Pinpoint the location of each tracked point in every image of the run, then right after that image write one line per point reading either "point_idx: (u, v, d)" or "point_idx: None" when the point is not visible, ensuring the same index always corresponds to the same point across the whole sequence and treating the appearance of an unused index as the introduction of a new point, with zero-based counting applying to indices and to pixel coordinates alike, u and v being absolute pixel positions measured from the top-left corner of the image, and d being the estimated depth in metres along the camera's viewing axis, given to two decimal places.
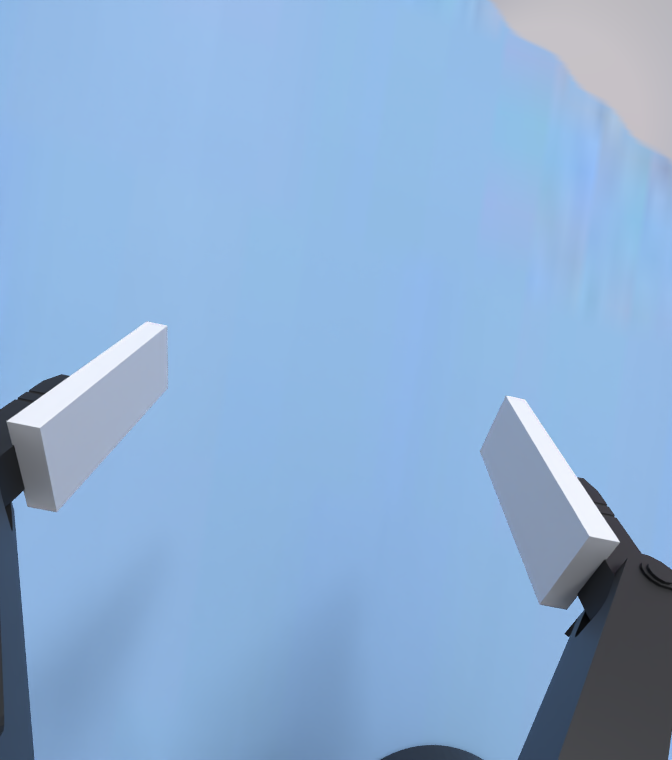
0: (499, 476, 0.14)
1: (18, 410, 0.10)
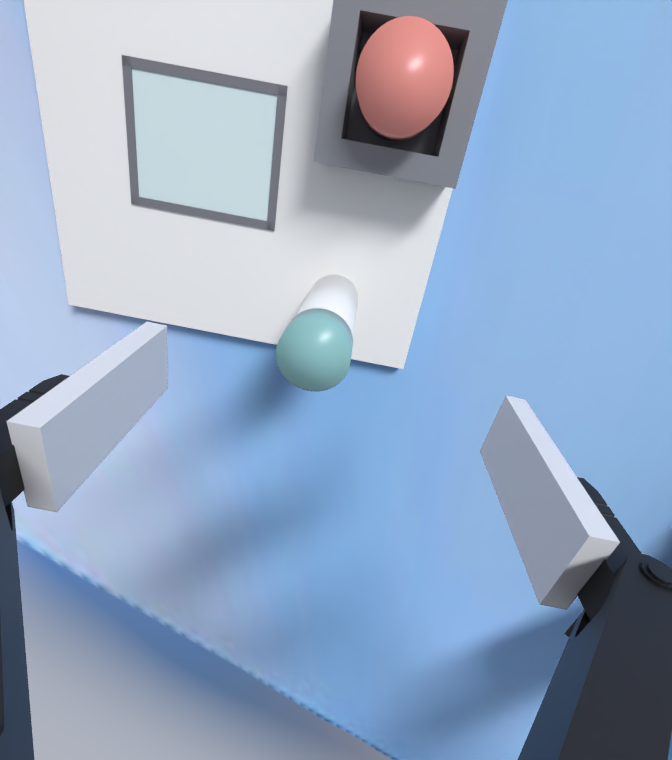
0: (499, 476, 0.14)
1: (18, 410, 0.10)
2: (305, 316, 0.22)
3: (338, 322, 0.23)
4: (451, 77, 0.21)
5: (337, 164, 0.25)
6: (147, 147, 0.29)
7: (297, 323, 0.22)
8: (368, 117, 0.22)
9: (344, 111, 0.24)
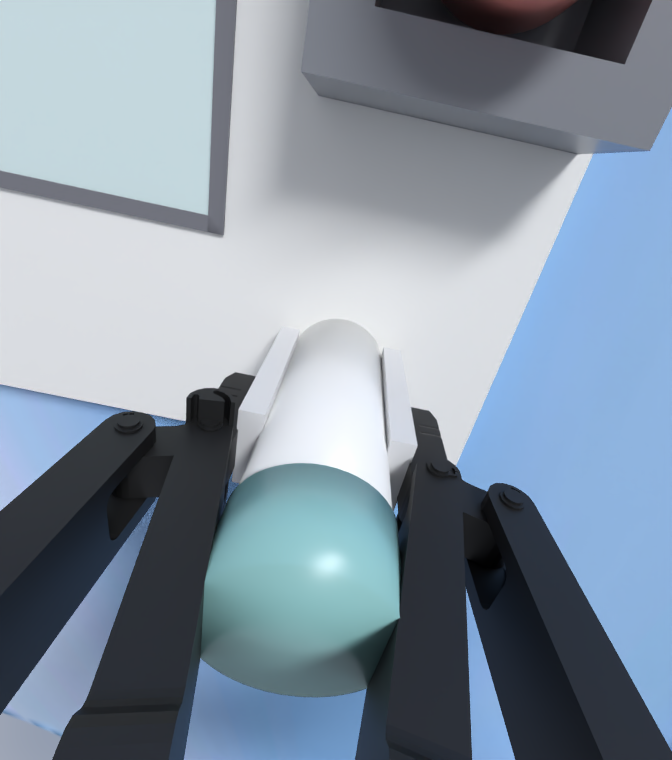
0: None
1: None
2: (271, 513, 0.07)
3: (368, 523, 0.08)
4: None
5: (362, 80, 0.10)
6: None
7: (244, 558, 0.07)
8: None
9: None
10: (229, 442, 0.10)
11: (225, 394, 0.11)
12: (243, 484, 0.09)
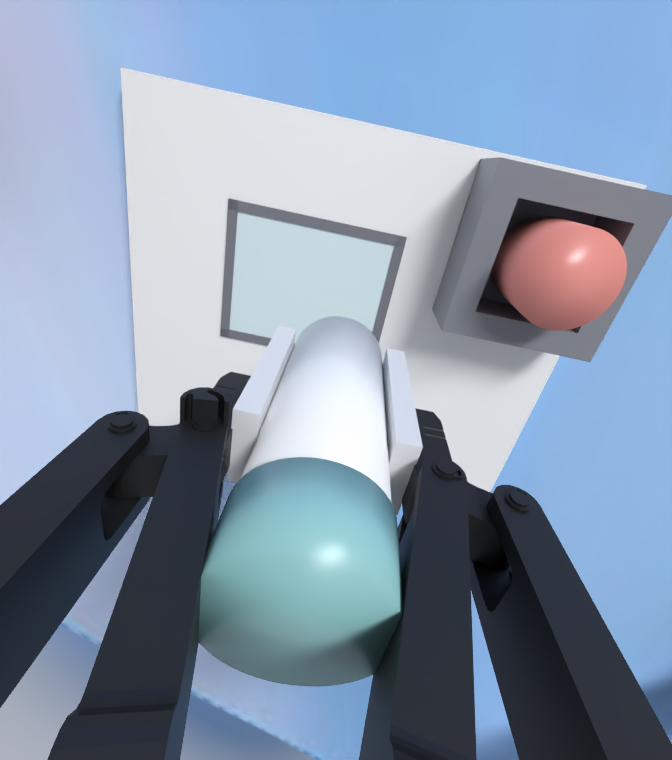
0: None
1: None
2: (273, 506, 0.08)
3: (367, 515, 0.08)
4: (621, 283, 0.19)
5: (467, 334, 0.23)
6: (244, 285, 0.27)
7: (246, 548, 0.07)
8: (523, 312, 0.20)
9: (483, 287, 0.22)
10: (223, 441, 0.10)
11: (219, 393, 0.11)
12: (245, 478, 0.09)
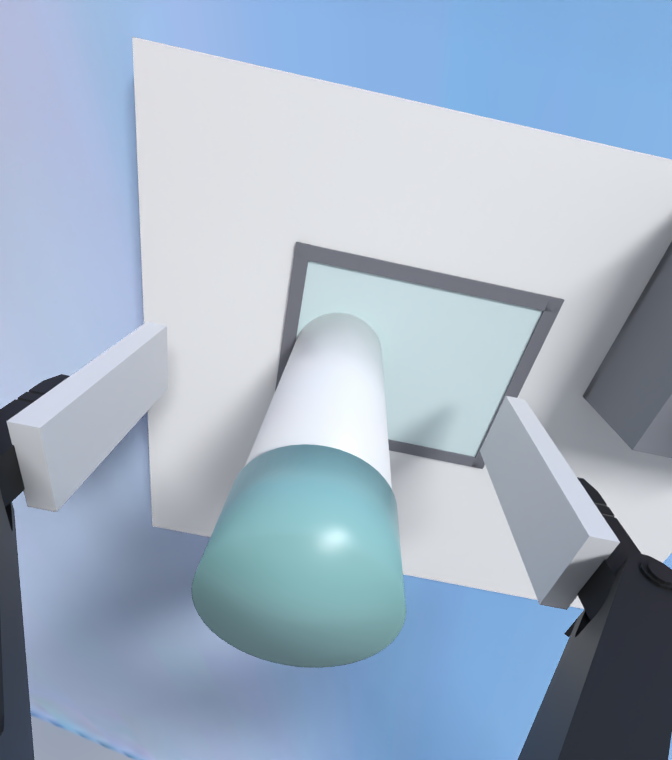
0: (499, 476, 0.14)
1: (18, 410, 0.10)
2: (277, 489, 0.08)
3: (368, 499, 0.08)
4: None
5: None
6: None
7: (251, 529, 0.07)
8: None
9: None
10: None
11: None
12: (249, 465, 0.09)
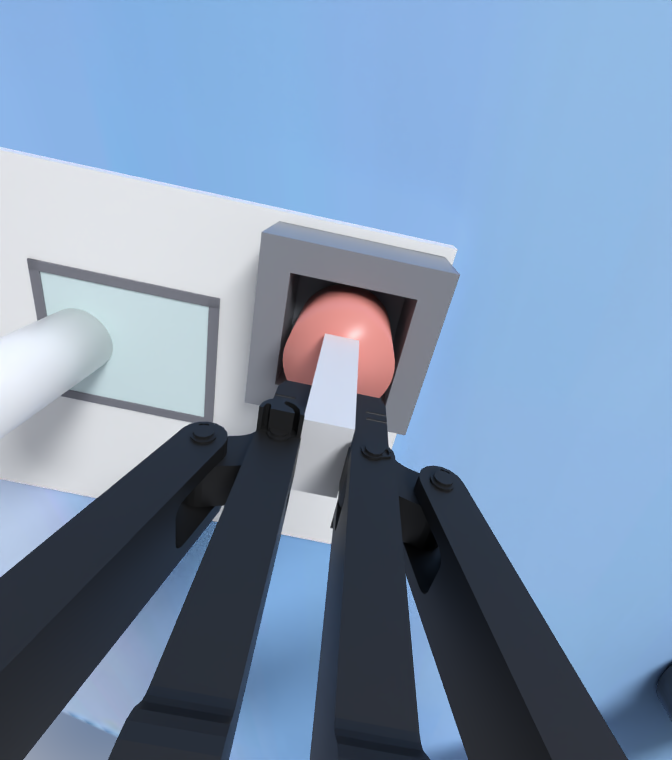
0: None
1: None
2: None
3: None
4: (392, 367, 0.18)
5: None
6: None
7: None
8: None
9: (277, 360, 0.21)
10: (295, 454, 0.10)
11: (295, 405, 0.11)
12: None
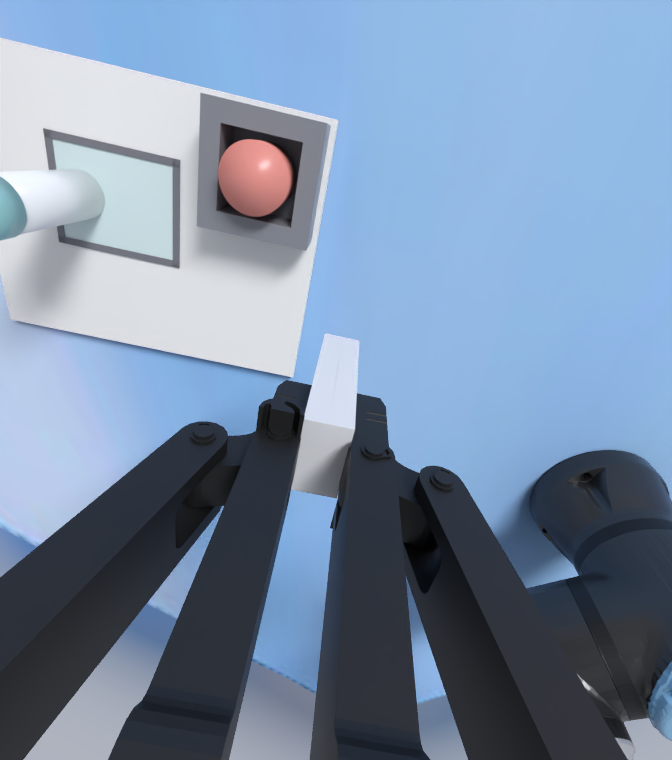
0: None
1: None
2: None
3: None
4: (285, 180, 0.29)
5: (215, 229, 0.32)
6: None
7: None
8: (230, 203, 0.30)
9: (216, 191, 0.31)
10: (295, 454, 0.10)
11: (295, 406, 0.11)
12: None
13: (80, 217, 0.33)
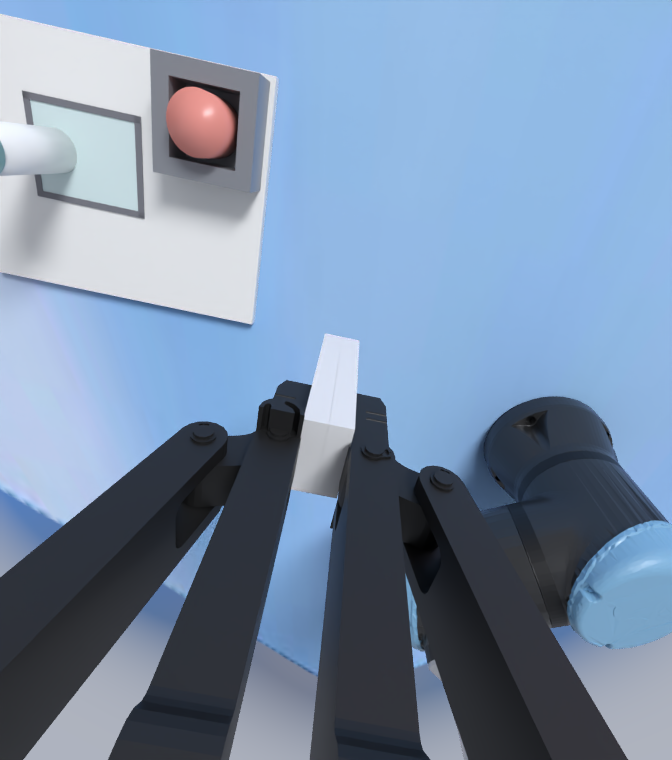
0: None
1: None
2: None
3: None
4: (224, 124, 0.33)
5: (169, 174, 0.37)
6: None
7: None
8: (178, 146, 0.34)
9: (168, 139, 0.35)
10: (295, 454, 0.10)
11: (295, 405, 0.11)
12: None
13: (55, 167, 0.38)
